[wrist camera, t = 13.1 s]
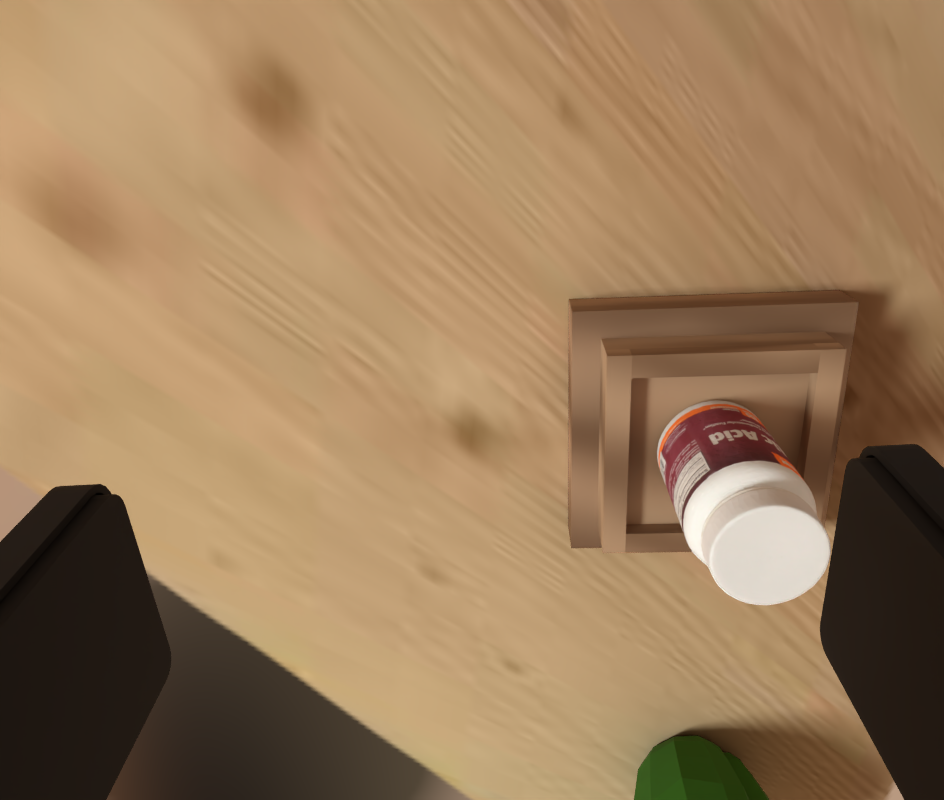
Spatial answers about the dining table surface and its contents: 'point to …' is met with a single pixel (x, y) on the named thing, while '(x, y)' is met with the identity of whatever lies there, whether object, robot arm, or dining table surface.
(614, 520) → the plinth
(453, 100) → the dining table surface
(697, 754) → the bell pepper
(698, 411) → the pill bottle
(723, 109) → the dining table surface
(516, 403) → the dining table surface
